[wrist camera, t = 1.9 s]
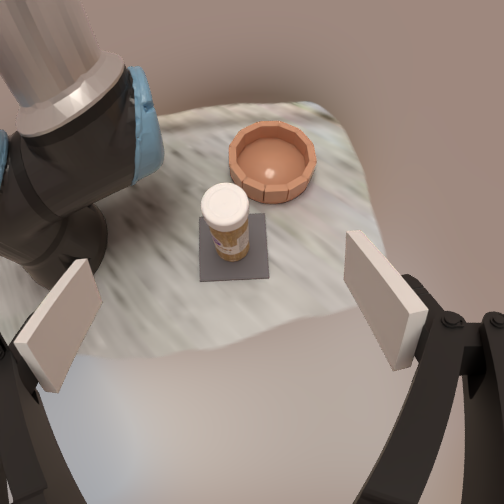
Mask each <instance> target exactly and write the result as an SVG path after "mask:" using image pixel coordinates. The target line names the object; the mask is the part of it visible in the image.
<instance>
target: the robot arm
mask: <svg viewBox="0 0 504 504" xmlns="http://www.w3.org/2000/svg"><path fill="white" fill-rule="evenodd" d="M0 75H1V77H2V78H3V80H4V82H5V83H6V84H7V86H8V88H9V89H10V91H11V93H12V94H13V96H14V97H15V98H16V100H17V102H18V103H19V109H18V114H17V118H16V124H15V125H16V129H17V131H16V132H15V133H13V134H12V135H10V136H8V135H7V133H6V132H5V131H4V130H0V256H2V257H5V258H7V259H9V260H12V261H14V262H16V263H18V264H21V265H22V267H23V268H24V269H25V270H26V271H27V273H28V274H29V275H30V276H31V277H32V278H33V279H34V280H35V281H36V282H37V283H38V284H39V285H41V286H43V287H45V288H47V289H50V290H51V291H50V292H49V293H48V295H47V296H46V297H45V299H44V300H43V301H42V303H41V304H40V305H39V307H38V308H37V309H36V311H34V312H33V313H32V314H31V315H30V316H29V317H28V318H27V320H26V321H25V322H24V324H23V325H22V327H21V328H20V330H19V331H18V332H17V334H16V335H15V337H14V338H13V340H12V341H11V343H10V344H9V346H8V345H7V344H6V342H5V340H4V338H3V337H2V335H1V333H0V504H9V499H8V490H7V481H8V484H9V488H10V490H11V494H12V497H13V503H11V504H87V503H86V501H85V499H84V497H83V496H82V494H81V492H80V490H79V488H78V486H77V484H76V482H75V480H74V478H73V476H72V474H71V472H70V470H69V468H68V466H67V464H66V462H65V460H64V457H63V455H62V453H61V451H60V448H59V446H58V444H57V441H56V439H55V436H54V434H53V431H52V429H51V426H50V423H49V421H48V418H47V415H46V412H45V410H44V406H43V403H42V401H41V397H40V394H39V392H38V391H37V390H36V386H37V384H38V382H39V384H40V385H41V386H42V388H43V389H44V390H45V391H46V392H53V393H59V391H60V388H61V386H62V384H63V382H64V379H65V377H66V375H67V373H68V371H69V368H70V366H71V364H72V362H73V360H74V358H75V356H76V354H77V352H78V349H79V347H80V345H81V343H82V341H83V339H84V337H85V335H86V333H87V331H88V329H89V328H90V326H91V324H92V322H93V320H94V318H95V316H96V314H97V312H98V310H99V308H100V307H101V305H102V303H103V302H102V299H101V296H100V294H99V291H98V288H97V285H96V283H95V280H94V277H93V274H94V273H95V271H96V270H97V268H98V267H99V265H100V263H101V261H102V259H103V256H104V253H105V249H106V244H107V226H106V222H105V219H104V216H103V214H102V213H101V211H100V210H99V209H98V207H97V206H96V205H95V204H94V203H95V202H97V201H99V200H101V199H103V198H105V197H107V196H109V195H111V194H113V193H115V192H117V191H120V190H122V189H124V188H126V187H128V186H132V185H134V184H136V182H137V181H139V180H140V179H142V178H144V177H146V176H148V175H150V174H152V173H154V172H155V171H157V170H158V169H159V167H160V166H161V165H162V163H163V161H164V146H163V141H162V136H161V131H160V127H159V122H158V118H157V115H156V111H155V108H154V107H153V105H154V104H153V101H152V95H151V91H150V88H149V85H148V81H147V78H146V75H145V73H144V71H143V69H142V68H141V67H139V66H136V67H132V66H131V67H128V68H127V69H126V66H125V64H124V61H123V59H122V57H121V56H120V55H118V54H115V53H112V52H108V51H103V50H101V49H100V47H99V45H98V42H97V40H96V37H95V35H94V33H93V30H92V28H91V25H90V23H89V20H88V18H87V15H86V12H85V10H84V8H83V5H82V2H81V0H0ZM344 281H345V283H346V285H347V287H348V288H349V290H350V292H351V294H352V295H353V297H354V299H355V301H356V302H357V304H358V306H359V308H360V310H361V312H362V313H363V315H364V317H365V319H366V320H367V323H368V324H369V326H370V328H371V330H372V331H373V333H374V335H375V337H376V339H377V341H378V343H379V345H380V347H381V349H382V351H383V352H384V355H385V356H386V358H387V360H388V362H389V364H390V366H391V368H392V370H393V371H397V370H401V369H405V368H408V367H411V364H412V361H413V358H414V356H415V357H416V359H417V361H418V362H419V364H418V367H417V370H416V372H415V375H414V377H413V380H412V383H411V386H410V389H409V391H408V394H407V396H406V399H405V401H404V404H403V406H402V409H401V411H400V413H399V416H398V418H397V420H396V422H395V425H394V427H393V429H392V431H391V433H390V436H389V438H388V440H387V442H386V444H385V446H384V448H383V450H382V452H381V454H380V456H379V458H378V460H377V462H376V464H375V465H374V467H373V469H372V471H371V473H370V475H369V477H368V478H367V480H366V482H365V484H364V485H363V487H362V489H361V490H360V492H359V494H358V495H357V497H356V499H355V500H354V502H353V504H418V502H419V500H420V497H421V495H422V493H423V490H424V488H425V486H426V483H427V480H428V478H429V475H430V473H431V471H432V468H433V465H434V463H435V460H436V457H437V454H438V451H439V448H440V445H441V442H442V439H443V436H444V432H445V429H446V426H447V422H448V419H449V415H450V412H451V408H452V404H453V400H454V396H455V391H456V387H457V382H458V378H459V376H461V375H462V381H463V393H464V413H465V460H464V461H465V462H464V463H465V464H464V478H463V491H462V501H461V504H504V314H501V313H499V312H488V313H486V314H485V315H484V317H483V319H482V322H481V323H466V321H465V320H464V318H463V317H462V316H460V315H459V314H457V313H454V312H451V311H444V310H443V309H442V307H441V306H440V305H439V304H438V303H437V301H436V300H435V299H434V298H433V297H432V296H431V294H429V293H428V291H427V290H426V289H425V288H424V287H423V285H422V284H421V283H420V282H419V281H418V280H417V279H416V278H414V277H412V276H411V275H409V274H405V275H400V274H399V273H398V272H397V270H396V269H395V268H394V267H393V266H392V265H391V264H390V262H389V261H388V260H387V259H386V258H385V257H384V255H383V254H382V253H381V252H380V251H379V250H378V249H377V247H376V246H375V245H374V244H373V243H372V242H371V241H370V240H369V239H368V237H367V236H366V235H365V234H364V233H363V232H362V231H361V230H356V231H346V250H345V267H344ZM6 478H7V479H6Z"/></svg>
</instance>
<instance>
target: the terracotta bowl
mask: <svg viewBox="0 0 504 504" xmlns="http://www.w3.org/2000/svg"><path fill="white" fill-rule="evenodd" d="M316 162H317V161H316V155H315V150H314V145H313V143H312V142H311V141H310V140H309V138H308V137H307V136H306V135H305V134H304V133H303V132H302V131H301V130H299V128H296V127H294V126H291V125H289V124H286V123H284V122H281V121H280V123H279V121H259V123H258V122H256V123H254V124H252V125H250V126H248V127H246V128H244V129H242V130H240V131H239V132H238V134H237V135H236V136H235V138H234V139H233V141H232V142H231V144H230V145H229V167H230V175H231V177H232V179H233V181H234V183H235V185H237V186H239V187H240V188H242V189H243V190H244V192H245V193H246V195H247V197H249V198H251V199H253V200H255V201H258V202H261V203H267V204H278V203H284V202H287V201H290V200H292V199H294V198H296V197H297V196H299V195H300V194H301V193H302V192H303V191H304V190H305V189H306V187H307V185H308V184H309V181H310V179H311V177H312V175H313V172H314V169H315V166H316Z"/></svg>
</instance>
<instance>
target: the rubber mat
mask: <svg viewBox="0 0 504 504" xmlns="http://www.w3.org/2000/svg"><path fill="white" fill-rule="evenodd" d="M248 226H249V244H250V246H249V251H248V253H247V254H246V256H245V257H243V258H242V259H241V260H238V261H234V262H230V261H226V260H224V259H222V258H221V257H220V256H219V255H218V253H217V251H216V247H215V244H214V241H213V238H212V235H211V232H210V228H209V225H208V224H207V223H206V221H205V219H204V217H199V261H200V282H202V281H224V280H244V279H263V278H269V266H268V252H267V237H266V224H265V213H260V214H249V215H248Z"/></svg>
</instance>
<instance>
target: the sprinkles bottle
mask: <svg viewBox="0 0 504 504" xmlns="http://www.w3.org/2000/svg"><path fill="white" fill-rule="evenodd" d="M201 211H202V214H203V217H204V219H205V221H206V223H207V224H208V225H209V228H210V232H211V235H212V238H213V241H214V244H215V247H216V251H217V253H218V255H219V256H220V257H221V258H222V259H224V260H226V261H230V262H234V261H238V260H241V259H242V258H243V257H245V256H246V254H247V253H248V251H249V246H250V244H249V226H248V215H249V201H248V197H247V195H246V193H245V192H244V190H243V189H242V188H240V187H239V186H237V185H235V184H232V183H219V184H216V185H214V186H212V187H211V188H209V189H208V190H207V191H206V192H205V194H204V195H203V198H202V201H201Z"/></svg>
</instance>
